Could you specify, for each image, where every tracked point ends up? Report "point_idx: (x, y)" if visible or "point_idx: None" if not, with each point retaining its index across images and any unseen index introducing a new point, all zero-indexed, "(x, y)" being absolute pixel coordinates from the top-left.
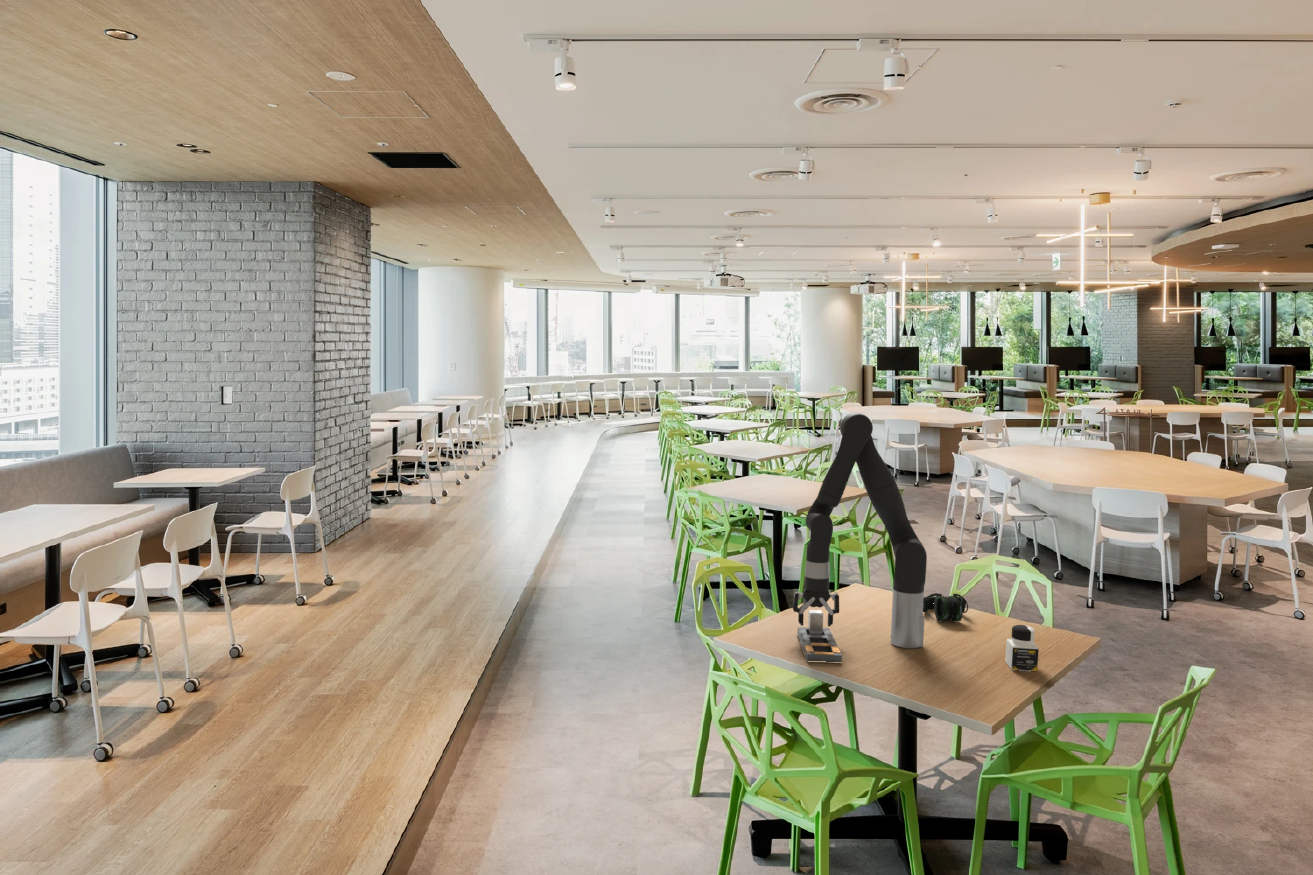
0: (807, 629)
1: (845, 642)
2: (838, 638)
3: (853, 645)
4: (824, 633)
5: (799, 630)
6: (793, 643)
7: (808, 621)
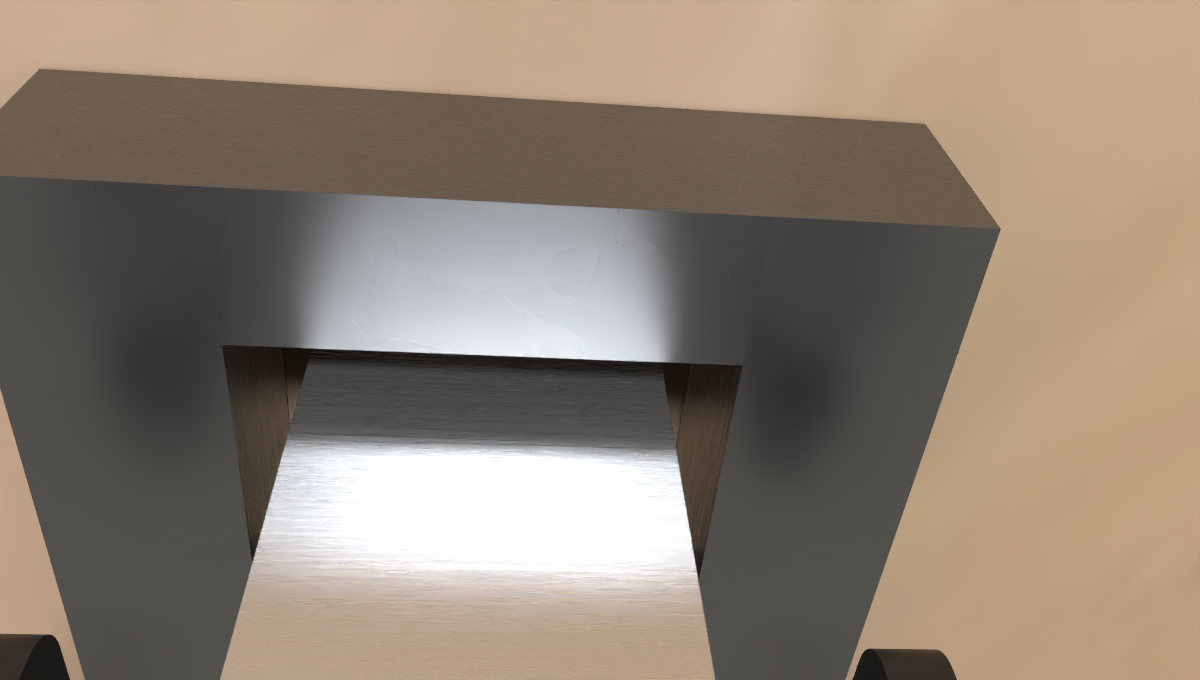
0: (287, 337)
1: (1090, 501)
2: (1073, 298)
3: (1150, 615)
4: None
5: (42, 455)
6: (12, 596)
7: (244, 639)
